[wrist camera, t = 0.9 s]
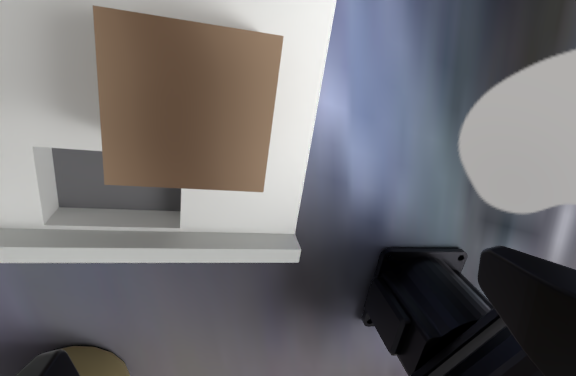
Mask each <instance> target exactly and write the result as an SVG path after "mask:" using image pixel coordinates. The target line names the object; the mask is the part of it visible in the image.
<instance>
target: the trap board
mask: <svg viewBox="0 0 576 376" xmlns="http://www.w3.org/2000/svg"><path fill="white" fill-rule="evenodd" d="M93 5H94V6H100V7H106V8H113V9H119V10H125V11H131V12H138V13H144V14H150V15H156V16H162V17H169V18H175V19H181V20H187V21H194V22H200V23H206V24H212V25H218V26H225V27H231V28H237V29H243V30H250V31H256V32H262V33H268V34H275V35H281V36H284V37H283V45H282V53H281V60H280V68H279V76H278V83H277V91H276V99H275V107H274V114H273V122H272V130H271V137H270V145H269V153H268V160H267V168H266V176H265V184H264V191H263V192H245V191H224V190H203V189H183V188H162V187H141V186H121V185H104V170H103V155H102V140H101V125H100V110H99V95H98V79H97V64H96V49H95V34H94V19H93ZM335 6H336V0H0V263H299V259H300V254H301V248H300V245H299V243H298V240H297V238H296V236H295V230H296V225H297V219H298V213H299V208H300V202H301V197H302V191H303V185H304V180H305V174H306V168H307V163H308V157H309V152H310V146H311V140H312V135H313V129H314V124H315V118H316V112H317V107H318V101H319V95H320V90H321V84H322V79H323V73H324V67H325V62H326V56H327V51H328V45H329V39H330V34H331V28H332V22H333V17H334V11H335Z"/></svg>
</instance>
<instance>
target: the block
mask: <svg viewBox="0 0 576 376" xmlns="http://www.w3.org/2000/svg"><path fill="white" fill-rule="evenodd" d="M93 19H94V34H95V49H96V64H97V79H98V95H99V110H100V125H101V140H102V155H103V170H104V185H121V186H141V187H162V188H183V189H203V190H224V191H245V192H263V191H264V184H265V176H266V168H267V160H268V153H269V145H270V137H271V130H272V122H273V114H274V107H275V99H276V91H277V83H278V76H279V68H280V60H281V53H282V45H283V37H284V36H281V35H275V34H268V33H262V32H256V31H250V30H243V29H237V28H231V27H225V26H218V25H212V24H206V23H200V22H194V21H187V20H181V19H175V18H169V17H162V16H156V15H150V14H144V13H138V12H131V11H125V10H119V9H113V8H106V7H100V6H94V5H93Z"/></svg>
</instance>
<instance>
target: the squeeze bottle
mask: <svg viewBox="0 0 576 376" xmlns="http://www.w3.org/2000/svg"><path fill="white" fill-rule="evenodd" d="M62 350H64V351H66V352H67V354H68V355H69V357H70V359H71V360H72V362H73V364H74V366H75V367H76V369H77V371H78V373H79V374H80V376H130V374H129V372H128V370H127V367H126V365H125V363H124V362H123V361H122V360H121V359H119V358H118V357H117V356H116V355H114V354H113V353H111V352H108V351H105V350H102V349H99V348H96V347H86V346H71V347H67V348H62ZM53 351H54V350H53Z"/></svg>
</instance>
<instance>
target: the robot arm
mask: <svg viewBox="0 0 576 376" xmlns="http://www.w3.org/2000/svg"><path fill="white" fill-rule="evenodd" d="M389 255H390V256H389ZM388 256H389V257H388ZM466 259H467V253H466V252H464V251H463V250H462V249H429V248H387V249H385V250H383V251H382V253H381V255H380V259H379V262H378V265H377V269H376V272H375V275H374V278H373V280H372V282H371V286H370V289H369V292H368V296H367V299H366V302H365V306H364V307H365V309H364V312H363V316H362V321H363V323H364V325H365V326H375V328H376V329H377V331H378V333H379V335H380V337H381V339H382V340H383V342H384V344H385V346H386V348H387V349H388V351H389V352H390V354H391V355H393V356H394V355H397V357H398V358H399V360H400V362H401V364H402V365H403V367H404V369H405V371H406V372H407V374H408V376H576V270H575V269H572V268H569V267H566V266H563V265H560V264H557V263H554V262H550V261H547V260H544V259H541V258H538V257H535V256H532V255H529V254H526V253H523V252H520V251H517V250H514V249H511V248H508V247H505V246H496V247H491V248H487V249H485V250H483V251H482V253H481V257H480V264H479V271H478V283H479V285H480V288H481V289H482V291H483V292H484V294H485V295H486V297H487V298H488V299H487V298H486V297H485V296H484V295H483V294H481V293H480V292H479V291H478V290H477V289H476V288H475V287H474V286H473V285H472V284H471V283H470V282H469V281H468V280H467V279H466V278H465V277H464V276H463V275H462V274H461V271H462V269H463V267H464V264H465V262H466ZM16 376H80V374H79V373H78V371H77V369H76V367H75V366H74V364H73V362H72V360H71V359H70V357H69V355H68V354H67V352H66V351H64V350H62V349H58V350H54V351H50V352H46V353H42V354H40V355H38V356H37V357H35V358H34V359H33V360H32V361H31V362H30V363H29V364H28V365H27V366H26V367H24V368H23V369H22V370H21V371H20V372H19V373H18V374H17V375H16Z"/></svg>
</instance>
